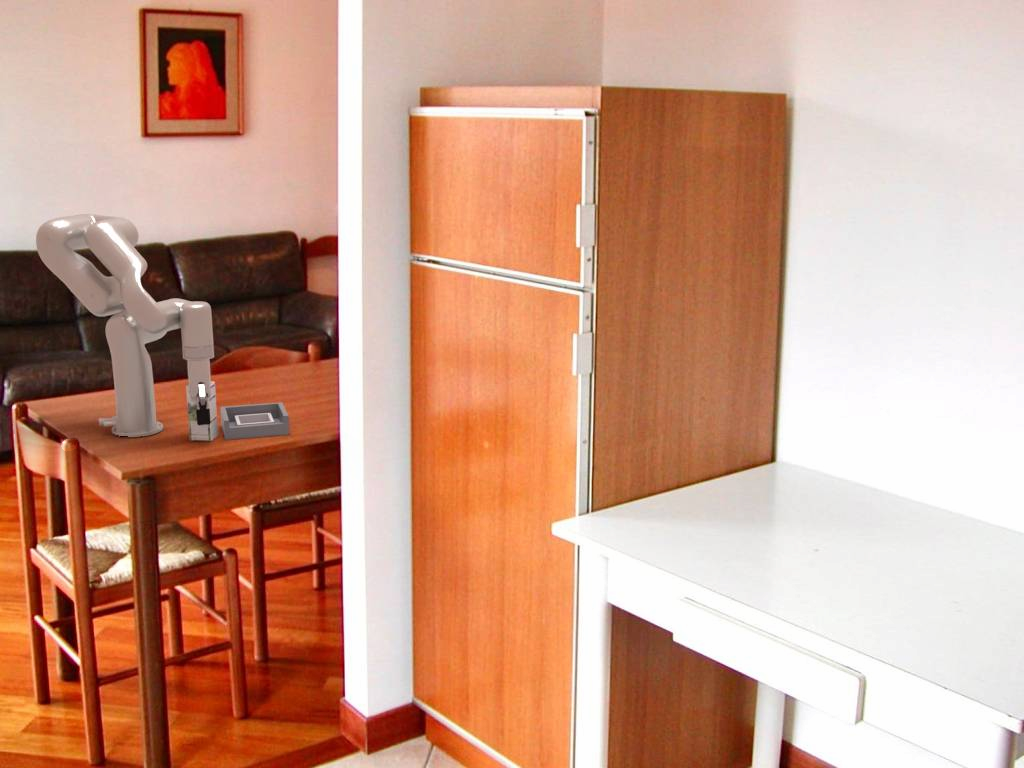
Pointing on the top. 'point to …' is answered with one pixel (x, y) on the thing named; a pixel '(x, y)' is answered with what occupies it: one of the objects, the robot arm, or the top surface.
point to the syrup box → (196, 430)
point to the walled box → (254, 420)
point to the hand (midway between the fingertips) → (203, 419)
